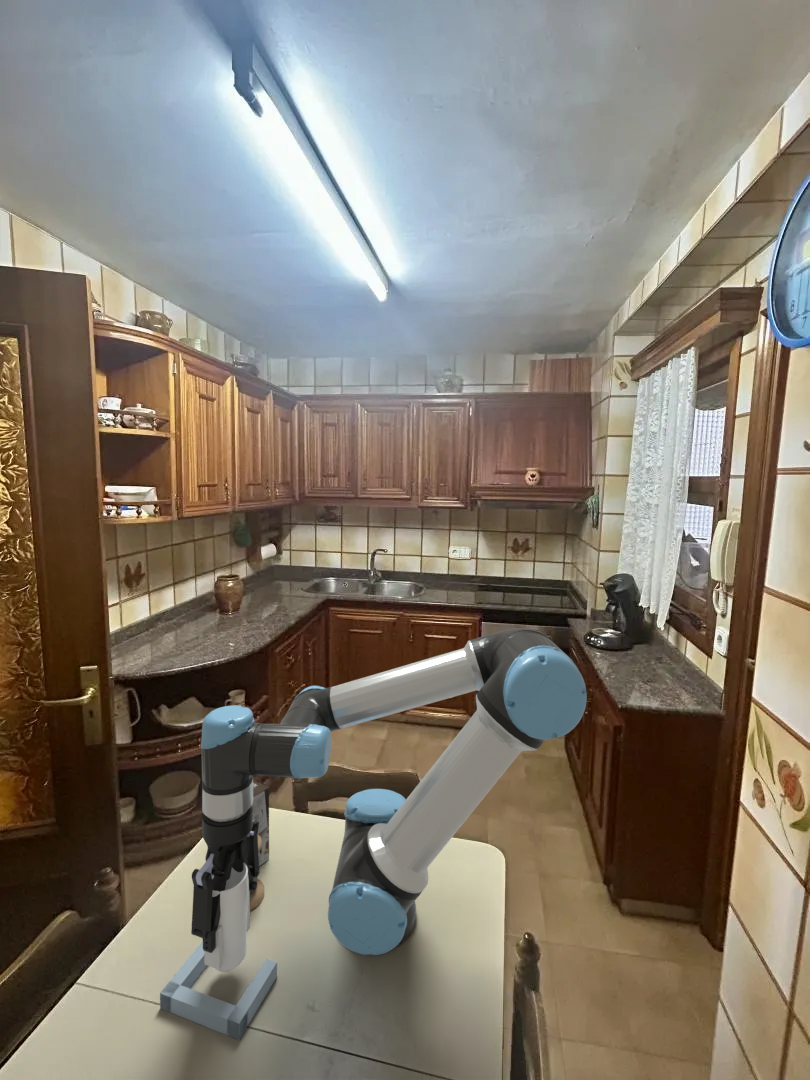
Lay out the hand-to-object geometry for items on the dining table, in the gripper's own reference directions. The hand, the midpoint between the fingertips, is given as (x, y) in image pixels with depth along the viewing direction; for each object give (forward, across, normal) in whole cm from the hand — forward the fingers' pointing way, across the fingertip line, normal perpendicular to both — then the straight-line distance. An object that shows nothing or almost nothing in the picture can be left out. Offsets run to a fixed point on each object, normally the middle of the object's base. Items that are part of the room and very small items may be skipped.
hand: (228, 945), depth 79 cm
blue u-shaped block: (+6, +2, 0) cm, 6 cm away
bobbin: (+6, -15, -8) cm, 18 cm away
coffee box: (+6, -24, -14) cm, 28 cm away
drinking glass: (+3, 0, 0) cm, 3 cm away
